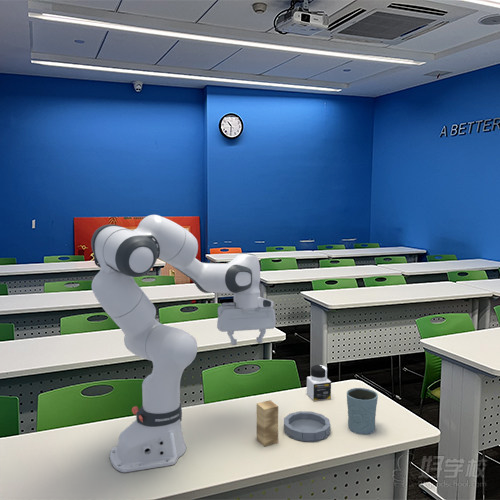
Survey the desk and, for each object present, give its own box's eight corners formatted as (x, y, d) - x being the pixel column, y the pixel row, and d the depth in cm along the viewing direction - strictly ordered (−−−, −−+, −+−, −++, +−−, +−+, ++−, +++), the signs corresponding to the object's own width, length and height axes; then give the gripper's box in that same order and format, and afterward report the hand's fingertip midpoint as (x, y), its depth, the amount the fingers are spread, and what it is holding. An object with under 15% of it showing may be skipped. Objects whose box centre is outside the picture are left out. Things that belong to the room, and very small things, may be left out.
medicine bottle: (313, 401, 184) (314, 370, 182) (306, 394, 191) (306, 364, 189) (331, 399, 186) (331, 368, 184) (323, 392, 192) (323, 362, 191)
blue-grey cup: (354, 437, 157) (355, 401, 156) (340, 422, 167) (341, 389, 165) (382, 433, 160) (383, 397, 158) (367, 419, 170) (368, 386, 168)
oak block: (264, 446, 152) (264, 409, 150) (256, 439, 156) (256, 403, 154) (278, 442, 154) (278, 406, 152) (270, 435, 158) (270, 400, 157)
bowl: (300, 446, 152) (300, 437, 151) (275, 425, 165) (275, 417, 165) (339, 435, 159) (339, 426, 158) (312, 416, 172) (312, 408, 171)
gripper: (221, 303, 156) (221, 347, 156) (278, 301, 165) (277, 343, 164) (214, 302, 162) (214, 344, 162) (269, 300, 170) (269, 340, 170)
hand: (246, 343), depth 163 cm, fingers open, 8 cm apart
